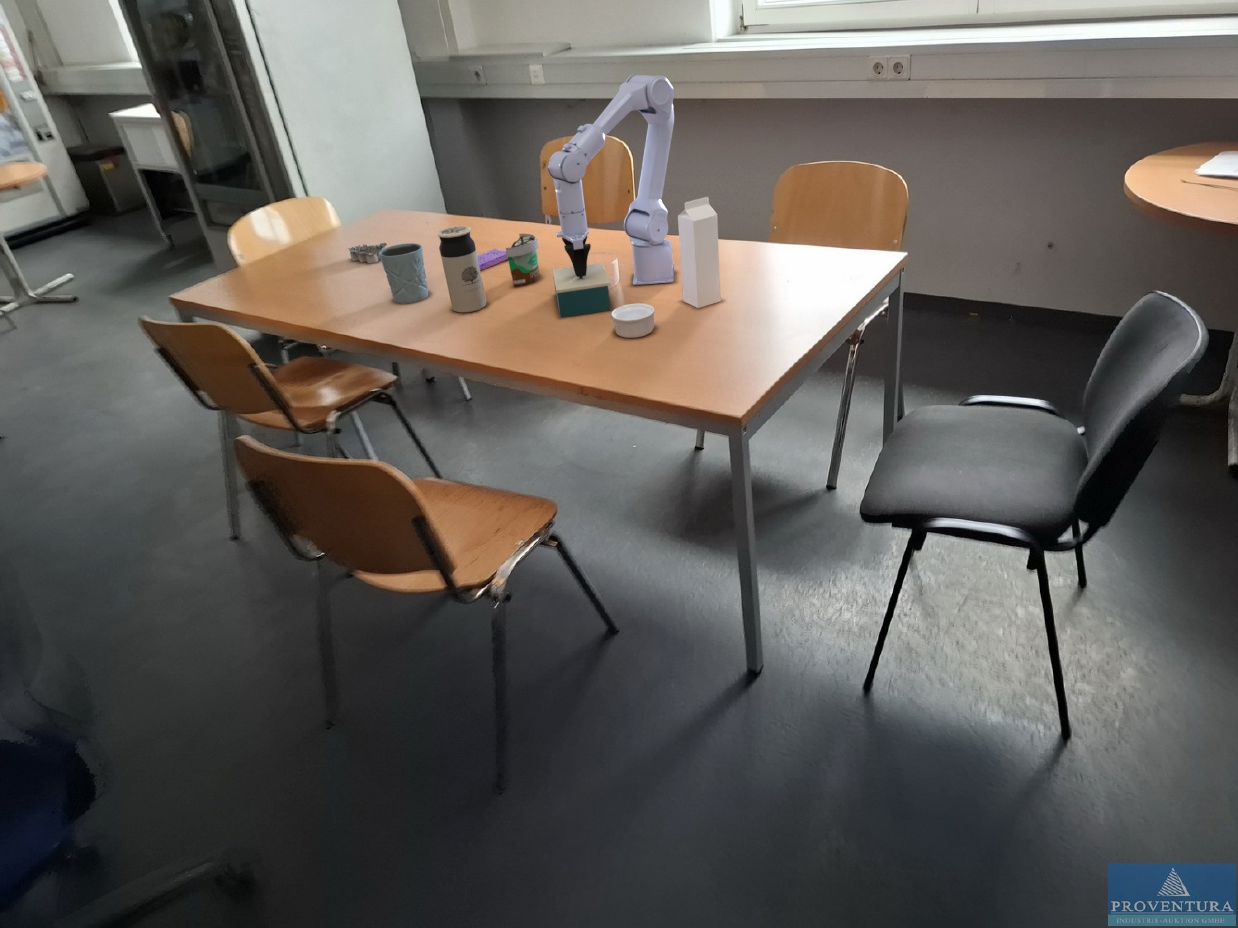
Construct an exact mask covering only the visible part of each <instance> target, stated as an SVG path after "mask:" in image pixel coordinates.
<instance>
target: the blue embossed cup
mask: <svg viewBox="0 0 1238 928" xmlns="http://www.w3.org/2000/svg"><path fill="white" fill-rule="evenodd" d="M379 256H380V261H381V264H382V267H383V270H384V272H385V274H386V275H385V276H386V279H387V280H386V281H387V282H388V285H389V287H390V293H391V296H392V299H393V301H394V303H395V304H396V303H397V304H399V305H400V304H402V305H404V304H405V305H407V304H414V303H417V302H420V301H423V300H425V299H426V298H428V297H429V289H428V288H429V287H428V282H427V275H426V268H425V261H424V252H423V246H422V245H421V244H420V243H414V242H413V243H400V244H395V245H391V246H388V247H387V246H386V247H385V249H383V250H381V251H380V252H379Z"/></svg>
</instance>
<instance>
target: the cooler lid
mask: <svg viewBox="0 0 1238 928" xmlns="http://www.w3.org/2000/svg"><path fill="white" fill-rule="evenodd" d="M551 271H552V277H553V276H554V278H553V282H554V281H555V285H554V287H555V286H556V290H557V293H562V292H569V291H576V290H582V289H589V288H596V287H603V286H608V287H609V286H611V281H610V278H609V276H608V273H607V271H606V268H605V266H604V263H603V262H593V263H587V271H586V276H581V277H577V276H576V274H575V271H574V268H573V266H566V267H559V268H552V270H551Z"/></svg>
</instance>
